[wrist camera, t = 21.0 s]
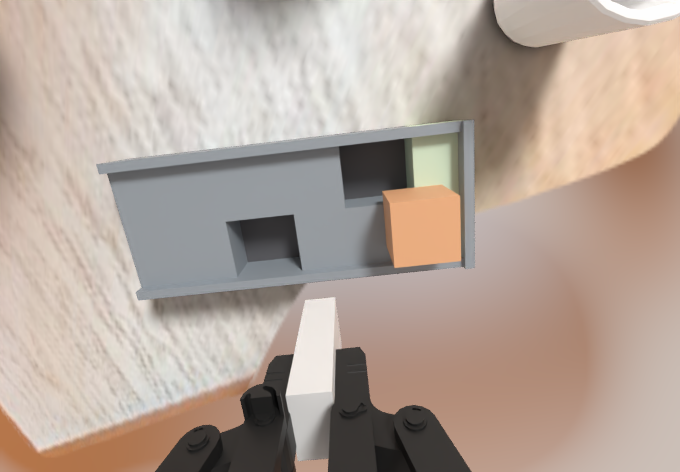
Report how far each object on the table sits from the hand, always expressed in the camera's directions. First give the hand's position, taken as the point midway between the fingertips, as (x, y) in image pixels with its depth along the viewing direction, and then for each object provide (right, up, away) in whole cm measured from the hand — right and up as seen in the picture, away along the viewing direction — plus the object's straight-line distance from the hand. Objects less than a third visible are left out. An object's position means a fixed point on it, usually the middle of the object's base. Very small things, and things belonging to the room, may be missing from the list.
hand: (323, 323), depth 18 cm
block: (+7, +6, +13) cm, 16 cm away
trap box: (-3, +7, +17) cm, 19 cm away
